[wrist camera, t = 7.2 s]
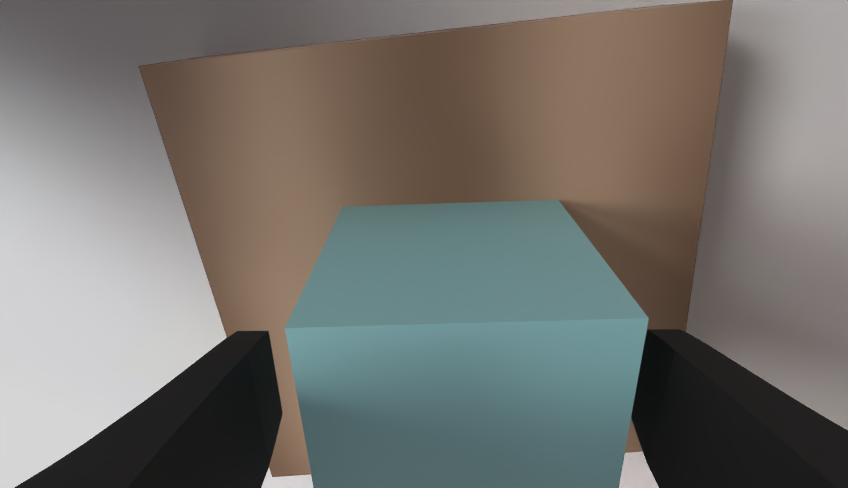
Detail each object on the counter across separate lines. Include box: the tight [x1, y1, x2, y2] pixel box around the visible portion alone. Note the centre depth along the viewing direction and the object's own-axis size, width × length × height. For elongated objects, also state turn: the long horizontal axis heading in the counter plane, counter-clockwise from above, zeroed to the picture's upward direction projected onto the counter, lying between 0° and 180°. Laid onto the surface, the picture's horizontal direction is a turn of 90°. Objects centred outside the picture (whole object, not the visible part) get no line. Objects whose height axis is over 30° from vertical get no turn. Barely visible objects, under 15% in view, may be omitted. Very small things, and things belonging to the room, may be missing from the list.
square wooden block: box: [139, 0, 733, 477], centre depth 14 cm, size 12×12×4 cm
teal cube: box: [285, 200, 649, 488], centre depth 10 cm, size 5×5×5 cm
